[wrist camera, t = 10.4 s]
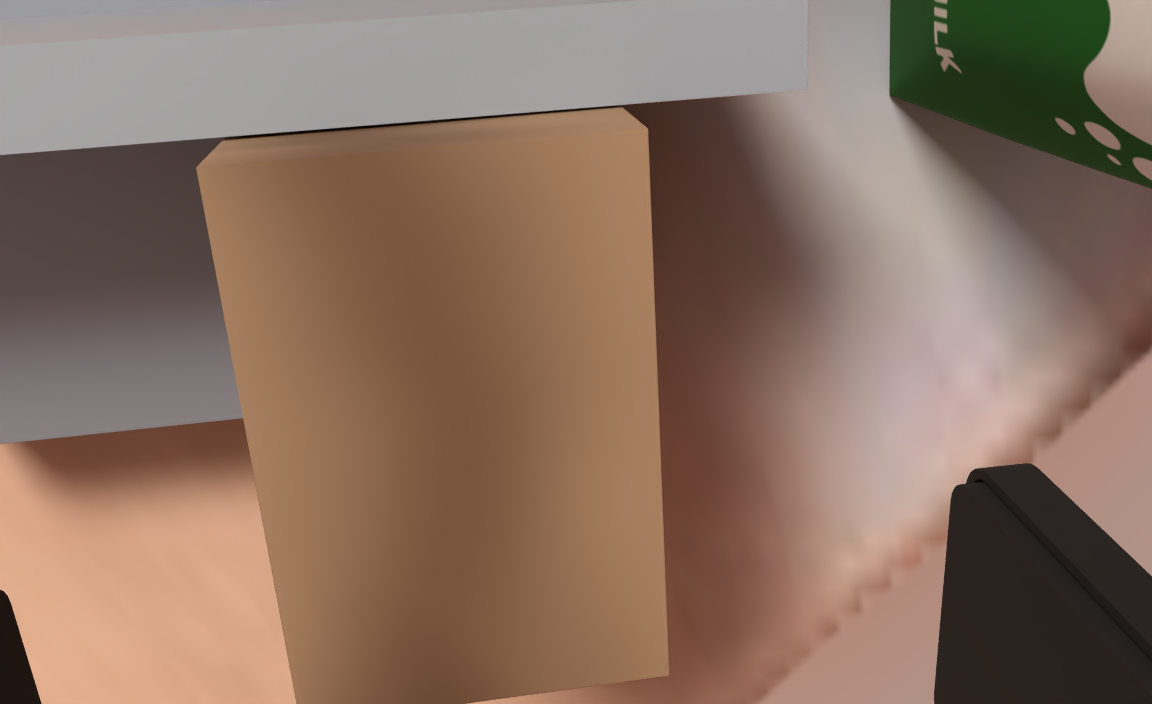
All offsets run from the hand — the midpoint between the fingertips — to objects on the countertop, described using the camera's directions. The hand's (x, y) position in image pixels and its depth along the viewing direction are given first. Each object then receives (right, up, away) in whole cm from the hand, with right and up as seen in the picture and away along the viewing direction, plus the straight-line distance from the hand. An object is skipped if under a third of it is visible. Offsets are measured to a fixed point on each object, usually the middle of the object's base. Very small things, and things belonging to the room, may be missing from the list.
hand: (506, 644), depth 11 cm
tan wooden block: (-2, +4, +13) cm, 14 cm away
